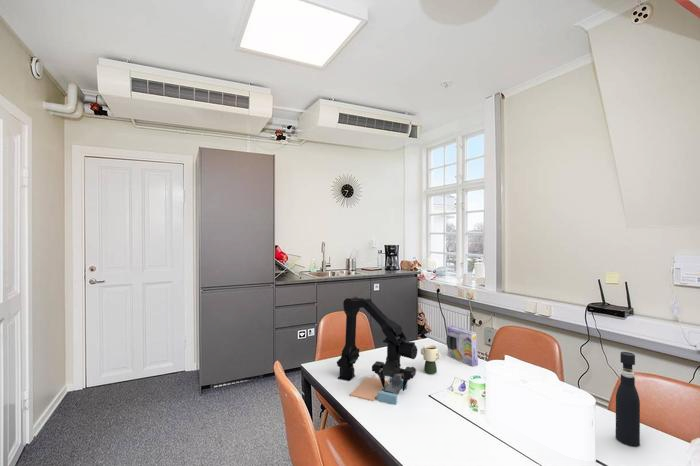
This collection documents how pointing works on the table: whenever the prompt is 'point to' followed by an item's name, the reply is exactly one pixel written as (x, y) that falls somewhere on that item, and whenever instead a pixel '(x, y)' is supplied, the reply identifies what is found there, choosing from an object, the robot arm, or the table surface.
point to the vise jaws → (389, 395)
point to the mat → (369, 389)
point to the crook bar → (394, 385)
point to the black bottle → (627, 405)
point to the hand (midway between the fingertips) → (393, 388)
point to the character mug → (430, 358)
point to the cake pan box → (462, 345)
